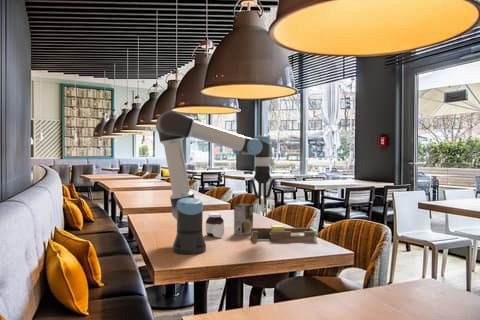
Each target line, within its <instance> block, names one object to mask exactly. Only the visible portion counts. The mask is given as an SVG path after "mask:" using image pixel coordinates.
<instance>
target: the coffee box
mask: <svg viewBox="0 0 480 320" xmlns="http://www.w3.org/2000/svg"><path fill="white" fill-rule="evenodd" d="M233 209H234V210H233V233H234V235H238V236H244V235H245V236H246V235H251V228H254V205H253V204H250V203H240V204H234V207H233Z"/></svg>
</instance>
